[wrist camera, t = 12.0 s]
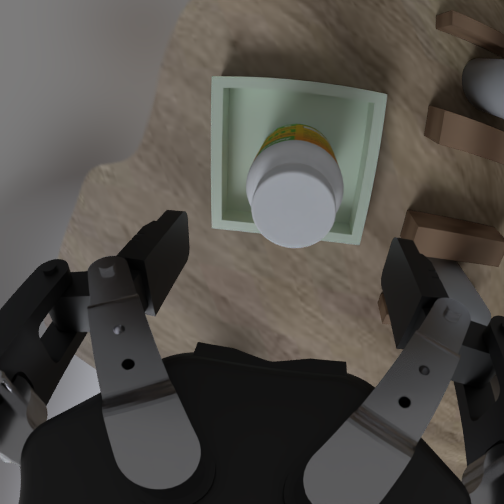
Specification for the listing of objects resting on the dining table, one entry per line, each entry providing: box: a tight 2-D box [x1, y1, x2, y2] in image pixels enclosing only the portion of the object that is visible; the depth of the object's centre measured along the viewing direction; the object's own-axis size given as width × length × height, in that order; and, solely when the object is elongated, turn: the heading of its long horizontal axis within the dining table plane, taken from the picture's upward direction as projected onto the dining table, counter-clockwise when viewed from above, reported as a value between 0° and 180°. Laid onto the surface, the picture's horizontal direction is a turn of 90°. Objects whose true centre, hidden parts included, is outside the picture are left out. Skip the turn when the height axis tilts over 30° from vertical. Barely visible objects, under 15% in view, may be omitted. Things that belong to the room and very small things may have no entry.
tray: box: [211, 76, 387, 245], centre depth 22 cm, size 12×12×2 cm
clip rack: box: [378, 10, 504, 324], centre depth 20 cm, size 10×27×3 cm, turn 178°
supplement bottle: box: [246, 123, 344, 248], centre depth 18 cm, size 5×5×10 cm
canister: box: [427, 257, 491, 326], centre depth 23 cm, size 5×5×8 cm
